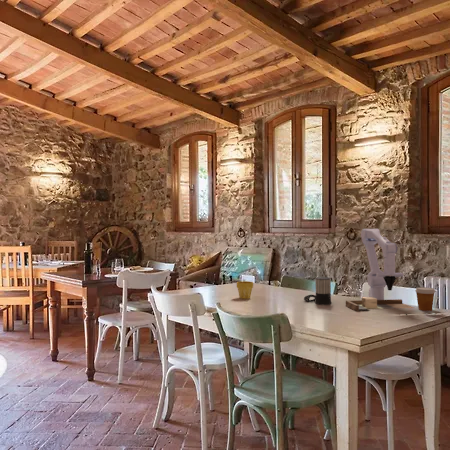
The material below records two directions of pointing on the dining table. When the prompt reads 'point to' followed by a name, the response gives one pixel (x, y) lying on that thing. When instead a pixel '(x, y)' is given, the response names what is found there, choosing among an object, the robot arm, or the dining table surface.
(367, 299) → the maple block
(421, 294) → the disposable coffee cup
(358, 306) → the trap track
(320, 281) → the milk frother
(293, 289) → the dining table surface
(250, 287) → the plant pot
